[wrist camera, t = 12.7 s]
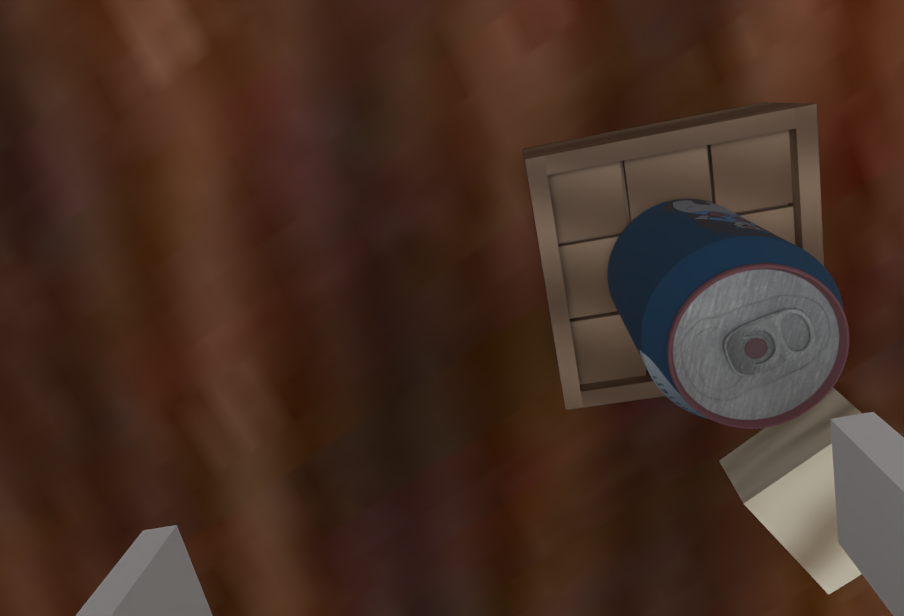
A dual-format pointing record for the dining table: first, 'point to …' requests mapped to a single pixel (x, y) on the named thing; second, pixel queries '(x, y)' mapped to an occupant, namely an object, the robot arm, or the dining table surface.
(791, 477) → the beech block
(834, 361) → the soda can
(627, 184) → the wooden crate
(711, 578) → the dining table surface
